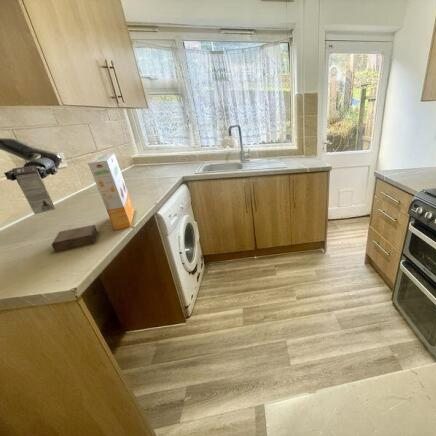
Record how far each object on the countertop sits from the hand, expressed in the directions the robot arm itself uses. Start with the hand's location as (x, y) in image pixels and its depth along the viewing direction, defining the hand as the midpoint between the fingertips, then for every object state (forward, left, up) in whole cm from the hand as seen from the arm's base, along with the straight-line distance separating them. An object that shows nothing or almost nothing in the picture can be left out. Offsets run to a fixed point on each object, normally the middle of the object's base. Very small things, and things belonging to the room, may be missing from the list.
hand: (26, 176), depth 91 cm
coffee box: (0, +2, -14) cm, 14 cm away
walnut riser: (+9, -9, -27) cm, 29 cm away
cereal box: (+25, +7, -27) cm, 37 cm away
